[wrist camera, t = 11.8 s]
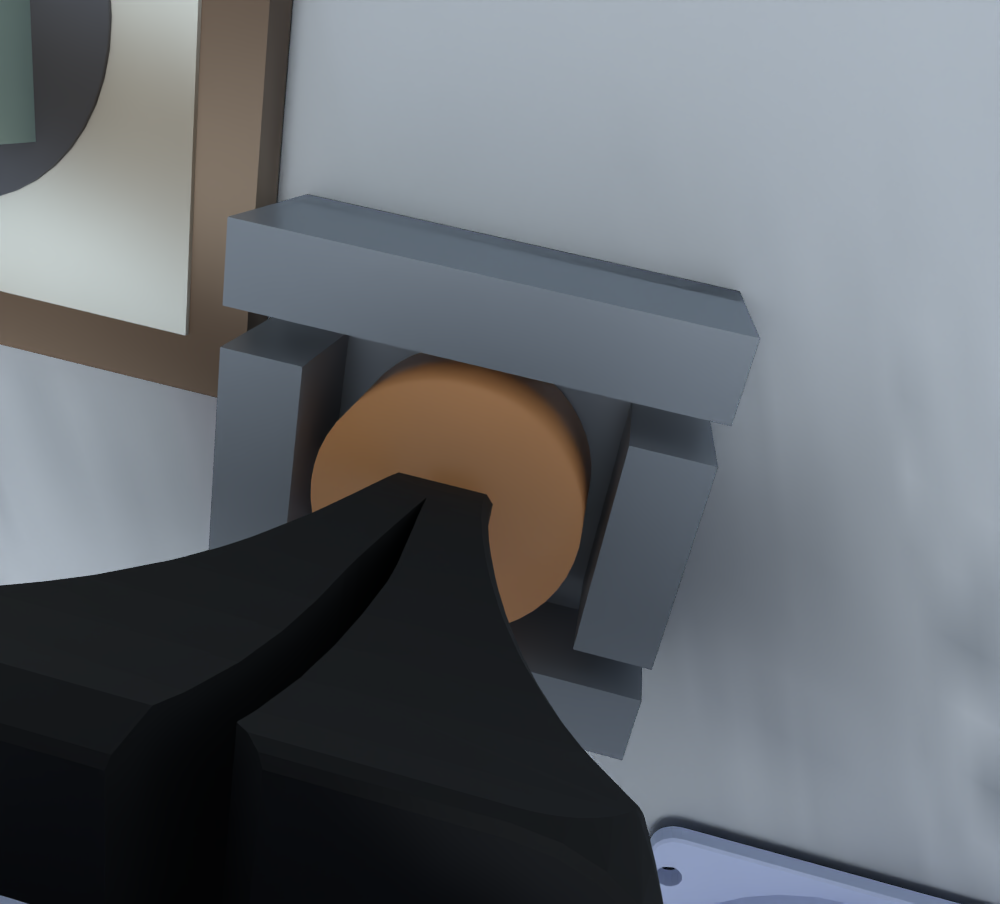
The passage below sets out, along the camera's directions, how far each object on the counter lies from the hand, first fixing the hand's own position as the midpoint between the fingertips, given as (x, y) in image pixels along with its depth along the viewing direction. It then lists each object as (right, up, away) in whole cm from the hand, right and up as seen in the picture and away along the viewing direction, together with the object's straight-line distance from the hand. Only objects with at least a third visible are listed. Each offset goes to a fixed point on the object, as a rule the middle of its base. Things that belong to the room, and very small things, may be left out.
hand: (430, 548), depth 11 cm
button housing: (+1, +1, +3) cm, 4 cm away
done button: (0, +1, +2) cm, 3 cm away
